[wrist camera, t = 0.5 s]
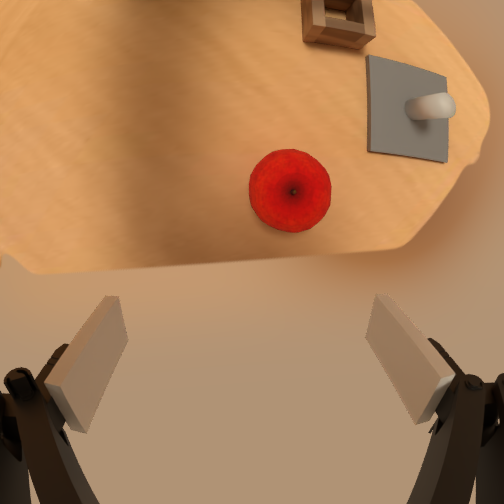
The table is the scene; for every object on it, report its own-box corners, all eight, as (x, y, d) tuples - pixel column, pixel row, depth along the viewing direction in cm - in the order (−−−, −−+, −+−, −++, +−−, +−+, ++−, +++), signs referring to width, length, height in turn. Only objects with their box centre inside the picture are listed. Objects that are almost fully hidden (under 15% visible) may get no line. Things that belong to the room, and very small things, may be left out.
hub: (300, -4, 28) (309, -24, 23) (354, 5, 29) (369, -12, 23) (302, 41, 31) (313, 24, 25) (358, 49, 31) (376, 36, 26)
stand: (365, 56, 32) (396, 37, 23) (441, 78, 32) (479, 70, 24) (367, 150, 36) (400, 153, 28) (443, 162, 37) (481, 168, 28)
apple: (325, 192, 38) (355, 208, 28) (271, 228, 40) (283, 256, 29) (288, 136, 36) (308, 131, 25) (232, 174, 37) (230, 183, 27)
